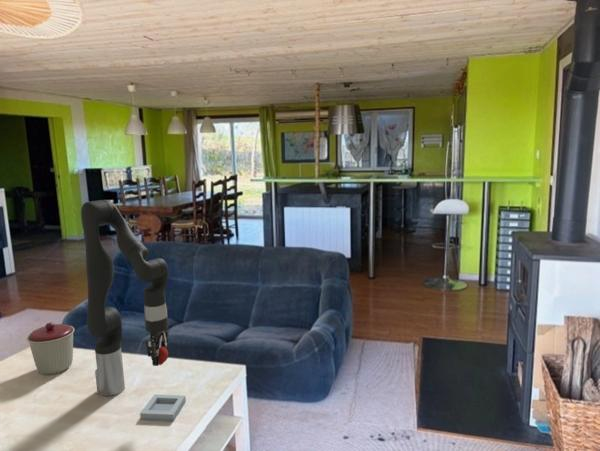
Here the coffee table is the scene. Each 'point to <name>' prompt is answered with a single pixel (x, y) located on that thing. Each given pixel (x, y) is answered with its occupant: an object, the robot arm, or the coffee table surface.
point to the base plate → (163, 407)
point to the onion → (162, 355)
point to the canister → (52, 347)
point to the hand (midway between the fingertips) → (159, 360)
